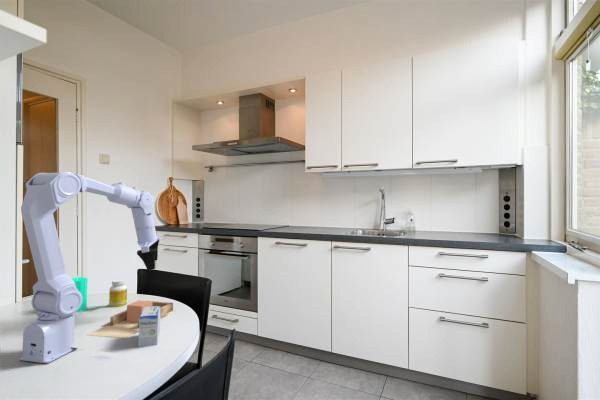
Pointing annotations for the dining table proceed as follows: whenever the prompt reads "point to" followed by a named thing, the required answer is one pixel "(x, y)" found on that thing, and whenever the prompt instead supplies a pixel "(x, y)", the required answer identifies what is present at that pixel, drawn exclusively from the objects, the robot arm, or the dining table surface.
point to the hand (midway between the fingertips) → (152, 264)
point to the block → (136, 310)
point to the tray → (128, 323)
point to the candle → (81, 290)
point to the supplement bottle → (118, 293)
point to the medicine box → (149, 326)
